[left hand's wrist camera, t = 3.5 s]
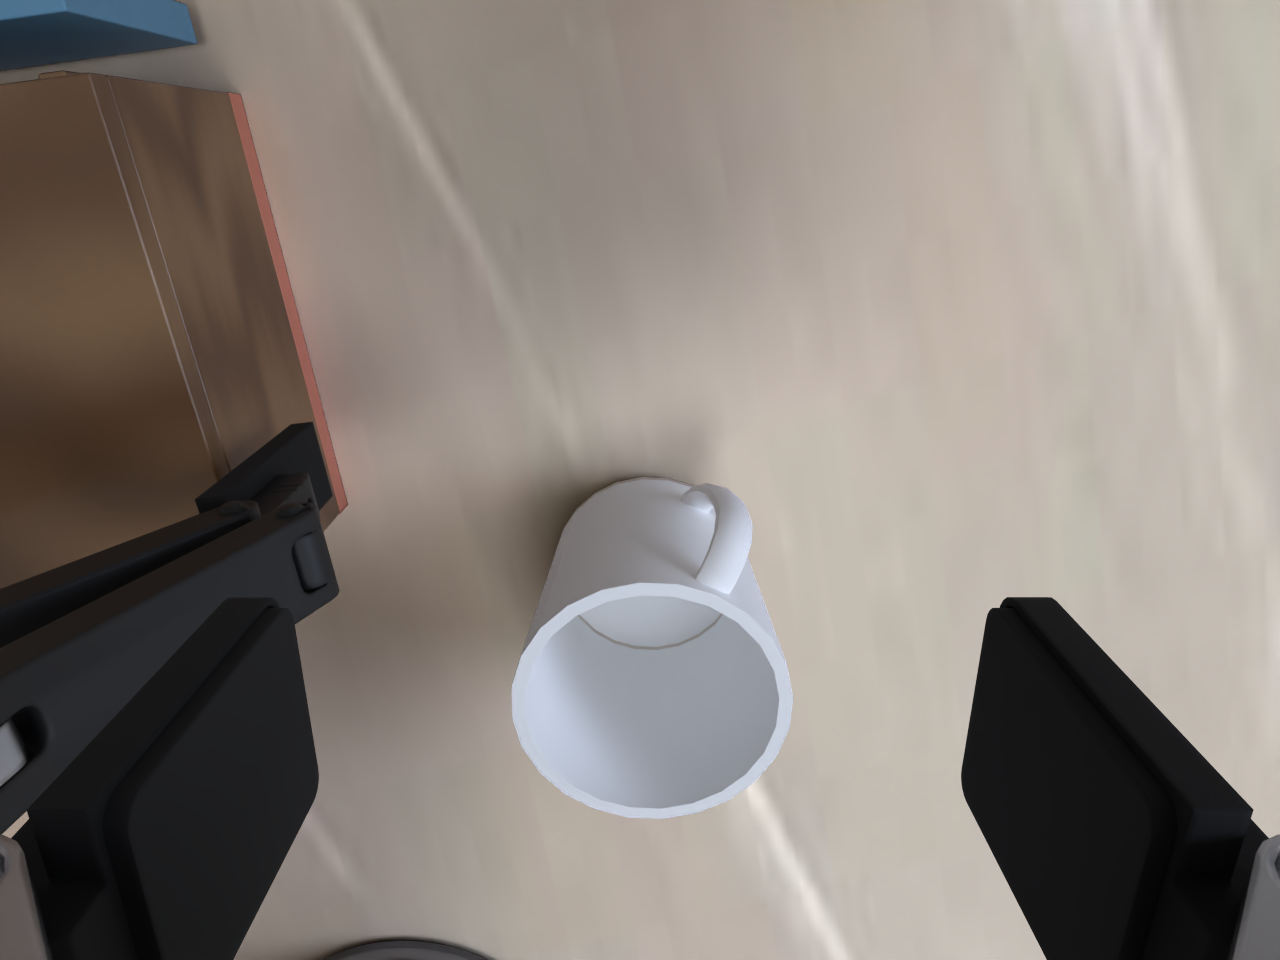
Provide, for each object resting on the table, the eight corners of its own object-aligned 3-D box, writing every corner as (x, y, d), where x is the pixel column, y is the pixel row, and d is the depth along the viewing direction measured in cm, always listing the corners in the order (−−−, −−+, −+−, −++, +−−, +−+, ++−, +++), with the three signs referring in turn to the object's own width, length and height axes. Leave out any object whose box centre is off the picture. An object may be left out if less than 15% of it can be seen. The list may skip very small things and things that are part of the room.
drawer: (-148, -170, 27) (-404, -276, 20) (128, -212, 26) (-43, -334, 20) (83, 449, 34) (-51, 519, 28) (301, 424, 34) (218, 489, 27)
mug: (697, 679, 39) (714, 853, 29) (514, 605, 37) (469, 762, 28) (815, 474, 35) (880, 595, 25) (618, 385, 34) (607, 477, 24)
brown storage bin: (-34, 130, 31) (-283, 121, 22) (240, 94, 30) (89, 71, 22) (114, 530, 36) (-41, 640, 28) (347, 504, 36) (259, 609, 28)
